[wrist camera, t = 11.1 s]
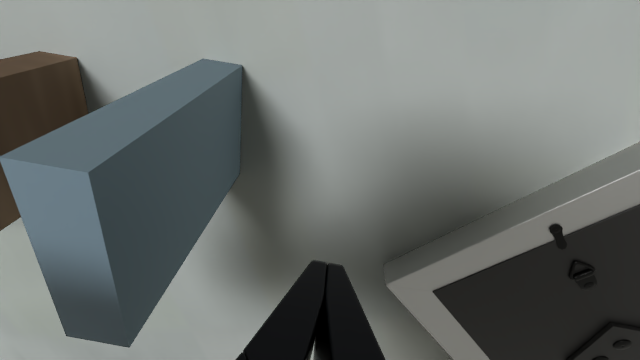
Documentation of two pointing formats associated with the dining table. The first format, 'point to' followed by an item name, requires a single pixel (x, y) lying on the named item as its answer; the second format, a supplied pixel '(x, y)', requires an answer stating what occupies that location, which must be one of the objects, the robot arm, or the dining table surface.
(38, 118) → the domino
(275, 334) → the robot arm
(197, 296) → the dining table surface
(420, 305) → the picture frame
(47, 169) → the domino
